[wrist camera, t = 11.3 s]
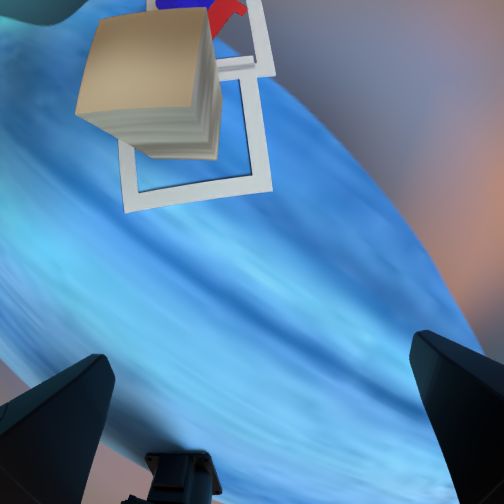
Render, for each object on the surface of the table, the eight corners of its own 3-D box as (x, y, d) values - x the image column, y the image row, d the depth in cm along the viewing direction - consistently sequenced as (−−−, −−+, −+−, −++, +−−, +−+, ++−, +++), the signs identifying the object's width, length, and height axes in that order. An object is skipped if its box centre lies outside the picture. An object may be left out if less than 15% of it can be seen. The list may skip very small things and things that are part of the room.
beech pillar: (217, 160, 20) (190, 107, 9) (153, 159, 20) (74, 114, 9) (222, 100, 19) (206, 7, 9) (161, 99, 19) (100, 19, 8)
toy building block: (186, 29, 20) (126, 15, 13) (214, -9, 17) (162, -38, 11) (218, 47, 20) (164, 34, 14) (248, 8, 18) (204, -22, 11)
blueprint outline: (292, 189, 20) (293, 188, 20) (125, 213, 20) (124, 213, 20) (255, -25, 18) (255, -26, 18) (122, -1, 18) (121, -2, 17)
